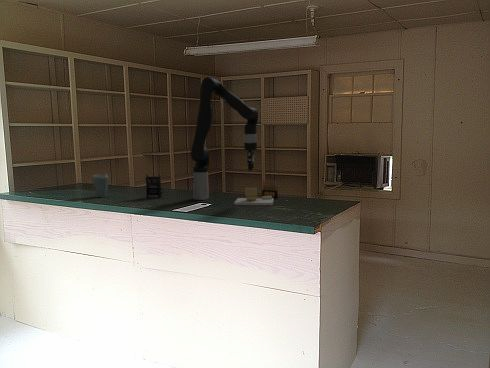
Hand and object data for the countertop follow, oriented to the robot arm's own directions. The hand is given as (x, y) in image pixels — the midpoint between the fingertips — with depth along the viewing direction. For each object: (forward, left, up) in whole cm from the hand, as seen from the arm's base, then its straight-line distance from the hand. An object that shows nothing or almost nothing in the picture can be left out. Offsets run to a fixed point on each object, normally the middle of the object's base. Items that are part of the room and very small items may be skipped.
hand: (250, 169), depth 258 cm
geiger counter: (-65, +16, -20) cm, 70 cm away
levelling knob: (0, 0, -18) cm, 18 cm away
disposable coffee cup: (-102, +17, -20) cm, 105 cm away
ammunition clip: (+10, +18, -20) cm, 29 cm away
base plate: (+2, -1, -20) cm, 20 cm away
